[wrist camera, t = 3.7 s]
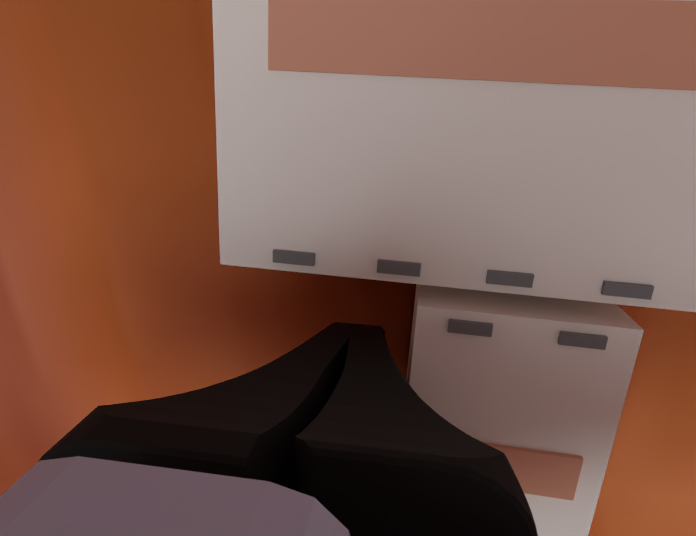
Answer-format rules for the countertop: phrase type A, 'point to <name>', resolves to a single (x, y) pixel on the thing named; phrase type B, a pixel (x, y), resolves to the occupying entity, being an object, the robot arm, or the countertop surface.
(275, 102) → the white striped box
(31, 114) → the countertop surface
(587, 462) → the stub
